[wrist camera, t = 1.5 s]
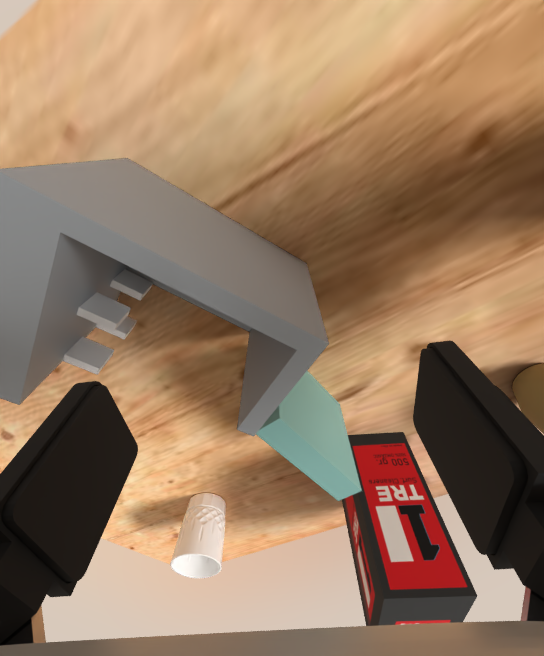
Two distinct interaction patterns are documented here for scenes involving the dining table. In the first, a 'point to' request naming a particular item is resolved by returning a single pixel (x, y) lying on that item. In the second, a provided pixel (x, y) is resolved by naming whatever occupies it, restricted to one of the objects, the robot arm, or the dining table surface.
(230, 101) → the dining table surface
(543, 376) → the squeeze bottle
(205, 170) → the dining table surface
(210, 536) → the white cup
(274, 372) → the cabinet
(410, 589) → the cleaning product box
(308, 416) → the cabinet door
